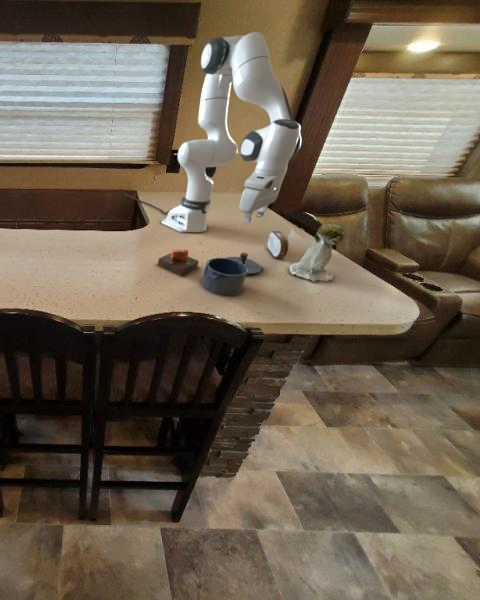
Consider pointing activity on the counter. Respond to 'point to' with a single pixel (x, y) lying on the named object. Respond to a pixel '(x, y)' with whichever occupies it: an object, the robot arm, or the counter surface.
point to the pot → (224, 276)
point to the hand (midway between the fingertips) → (253, 219)
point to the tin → (277, 244)
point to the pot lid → (248, 263)
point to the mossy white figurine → (319, 254)
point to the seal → (179, 255)
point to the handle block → (178, 264)
